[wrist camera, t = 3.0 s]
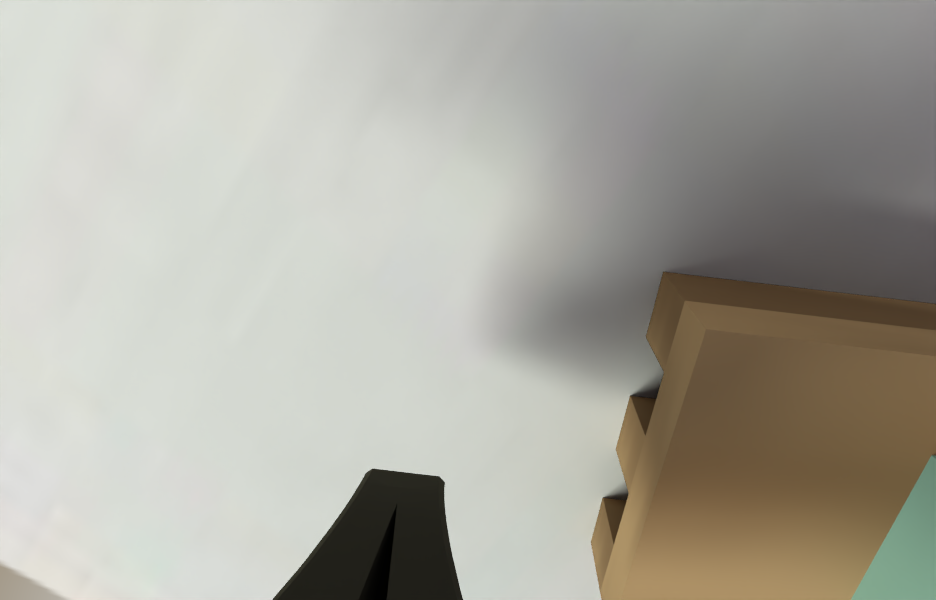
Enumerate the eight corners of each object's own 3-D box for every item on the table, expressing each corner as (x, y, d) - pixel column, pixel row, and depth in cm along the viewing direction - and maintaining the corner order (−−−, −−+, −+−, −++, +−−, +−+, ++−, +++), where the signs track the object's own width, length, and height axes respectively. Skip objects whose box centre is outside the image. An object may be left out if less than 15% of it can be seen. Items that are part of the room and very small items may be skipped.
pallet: (1019, 586, 15) (1131, 701, 13) (589, 534, 16) (608, 637, 13) (1205, 332, 12) (1409, 412, 9) (660, 267, 12) (706, 329, 10)
